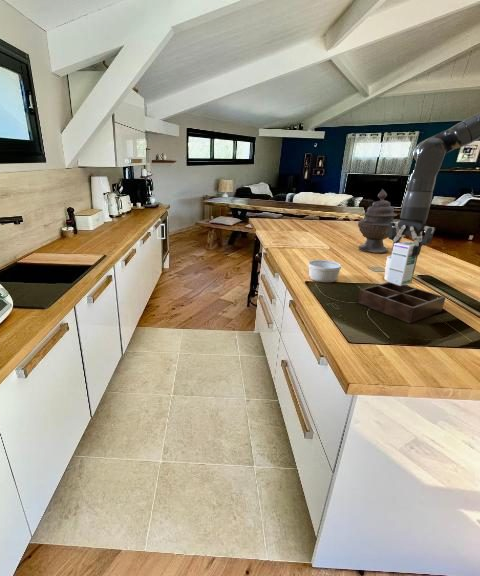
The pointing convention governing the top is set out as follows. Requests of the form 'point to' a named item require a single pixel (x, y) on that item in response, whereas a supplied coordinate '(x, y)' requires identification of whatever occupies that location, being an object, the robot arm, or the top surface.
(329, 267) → the ramekin
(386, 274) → the white cup
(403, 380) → the top surface
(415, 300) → the rack
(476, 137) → the robot arm
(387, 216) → the decorative urn
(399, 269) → the syrup box
